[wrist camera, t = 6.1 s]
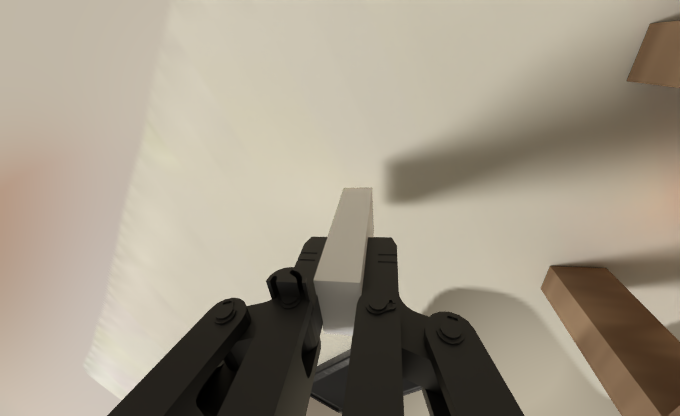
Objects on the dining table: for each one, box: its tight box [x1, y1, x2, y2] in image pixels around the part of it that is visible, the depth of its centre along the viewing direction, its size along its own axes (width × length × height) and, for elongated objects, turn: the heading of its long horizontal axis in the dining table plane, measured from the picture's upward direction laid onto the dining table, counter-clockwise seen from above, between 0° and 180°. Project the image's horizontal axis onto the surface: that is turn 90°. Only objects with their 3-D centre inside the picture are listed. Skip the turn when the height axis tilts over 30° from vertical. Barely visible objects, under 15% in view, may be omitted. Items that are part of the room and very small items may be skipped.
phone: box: [310, 349, 422, 413], centre depth 26 cm, size 8×1×15 cm
